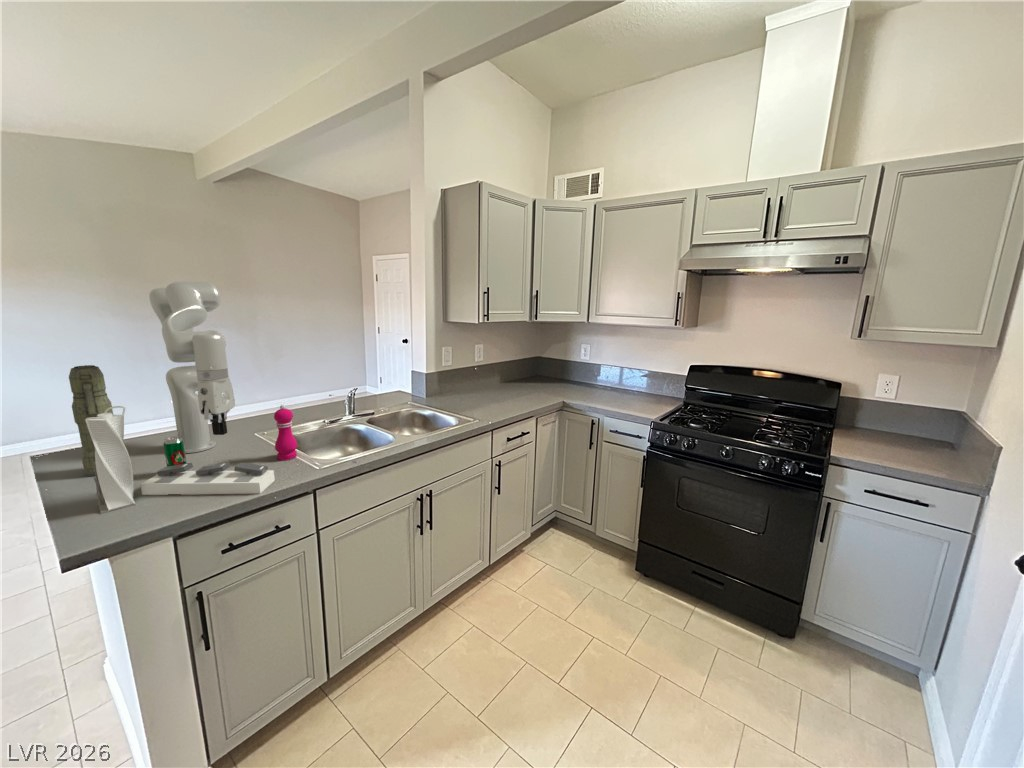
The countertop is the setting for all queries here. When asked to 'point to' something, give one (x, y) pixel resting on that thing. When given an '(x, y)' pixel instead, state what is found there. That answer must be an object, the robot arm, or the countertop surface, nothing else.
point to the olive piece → (88, 406)
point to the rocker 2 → (251, 468)
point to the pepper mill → (285, 434)
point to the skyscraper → (111, 461)
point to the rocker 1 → (174, 469)
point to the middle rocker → (212, 469)
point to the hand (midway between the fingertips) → (220, 433)
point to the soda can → (174, 451)
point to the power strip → (208, 483)
